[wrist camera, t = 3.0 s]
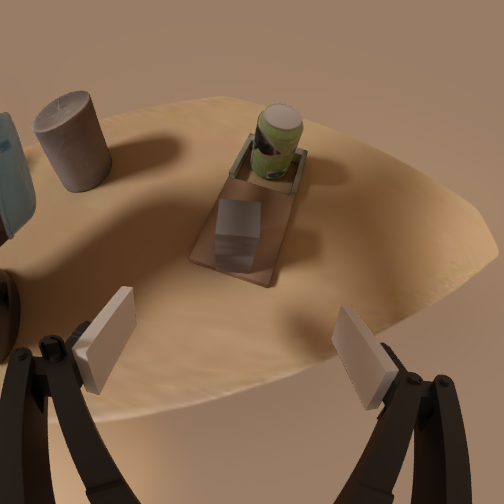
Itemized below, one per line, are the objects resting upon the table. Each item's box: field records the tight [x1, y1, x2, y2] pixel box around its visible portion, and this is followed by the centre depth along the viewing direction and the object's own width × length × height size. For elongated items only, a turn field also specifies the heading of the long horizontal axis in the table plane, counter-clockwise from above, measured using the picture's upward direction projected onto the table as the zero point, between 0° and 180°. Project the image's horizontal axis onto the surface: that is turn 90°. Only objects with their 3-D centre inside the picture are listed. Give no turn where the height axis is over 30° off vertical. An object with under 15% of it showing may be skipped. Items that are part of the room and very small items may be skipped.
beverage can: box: [250, 104, 303, 179], centre depth 36 cm, size 6×7×12 cm
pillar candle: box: [32, 91, 112, 192], centre depth 31 cm, size 10×10×15 cm
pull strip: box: [189, 133, 308, 288], centre depth 34 cm, size 10×24×10 cm, turn 163°
